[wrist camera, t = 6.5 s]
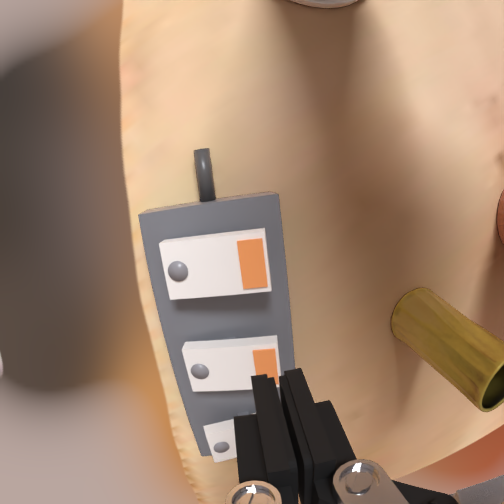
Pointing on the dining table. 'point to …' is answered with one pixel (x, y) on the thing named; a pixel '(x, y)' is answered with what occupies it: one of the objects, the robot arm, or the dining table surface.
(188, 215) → the power strip
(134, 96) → the dining table surface
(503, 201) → the potted plant
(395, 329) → the vase
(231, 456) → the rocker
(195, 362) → the rocker mid
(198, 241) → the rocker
